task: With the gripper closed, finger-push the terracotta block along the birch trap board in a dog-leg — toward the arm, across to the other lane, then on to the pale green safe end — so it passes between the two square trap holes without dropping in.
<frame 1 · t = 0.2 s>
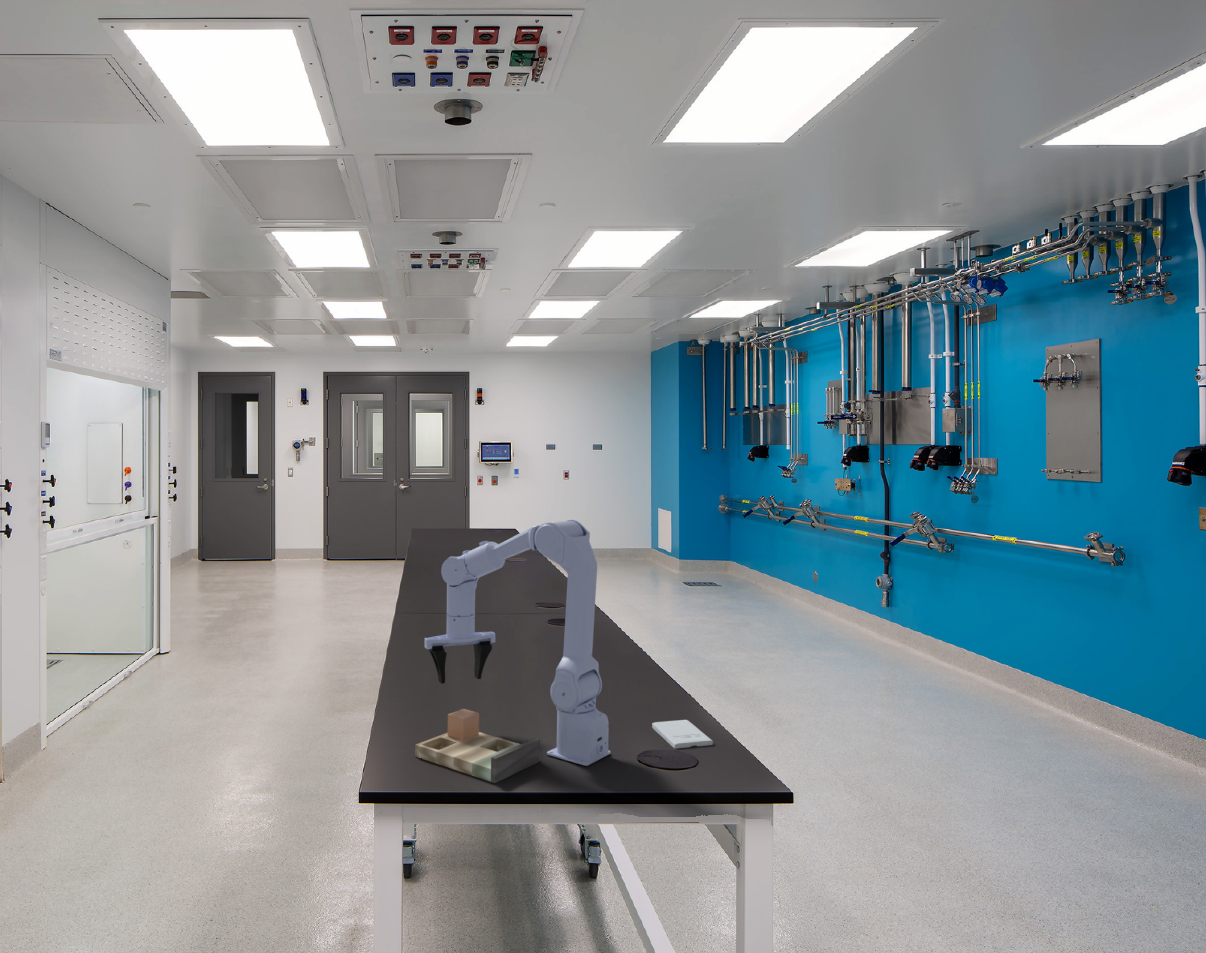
hand: (459, 680, 159), 10 cm above the table, tool pointing down, fingers open, 7 cm apart
trap board: (477, 759, 143), on the table
block: (463, 735, 149), point 2 cm above the table, touching trap board
external hard drive: (681, 739, 157), on the table
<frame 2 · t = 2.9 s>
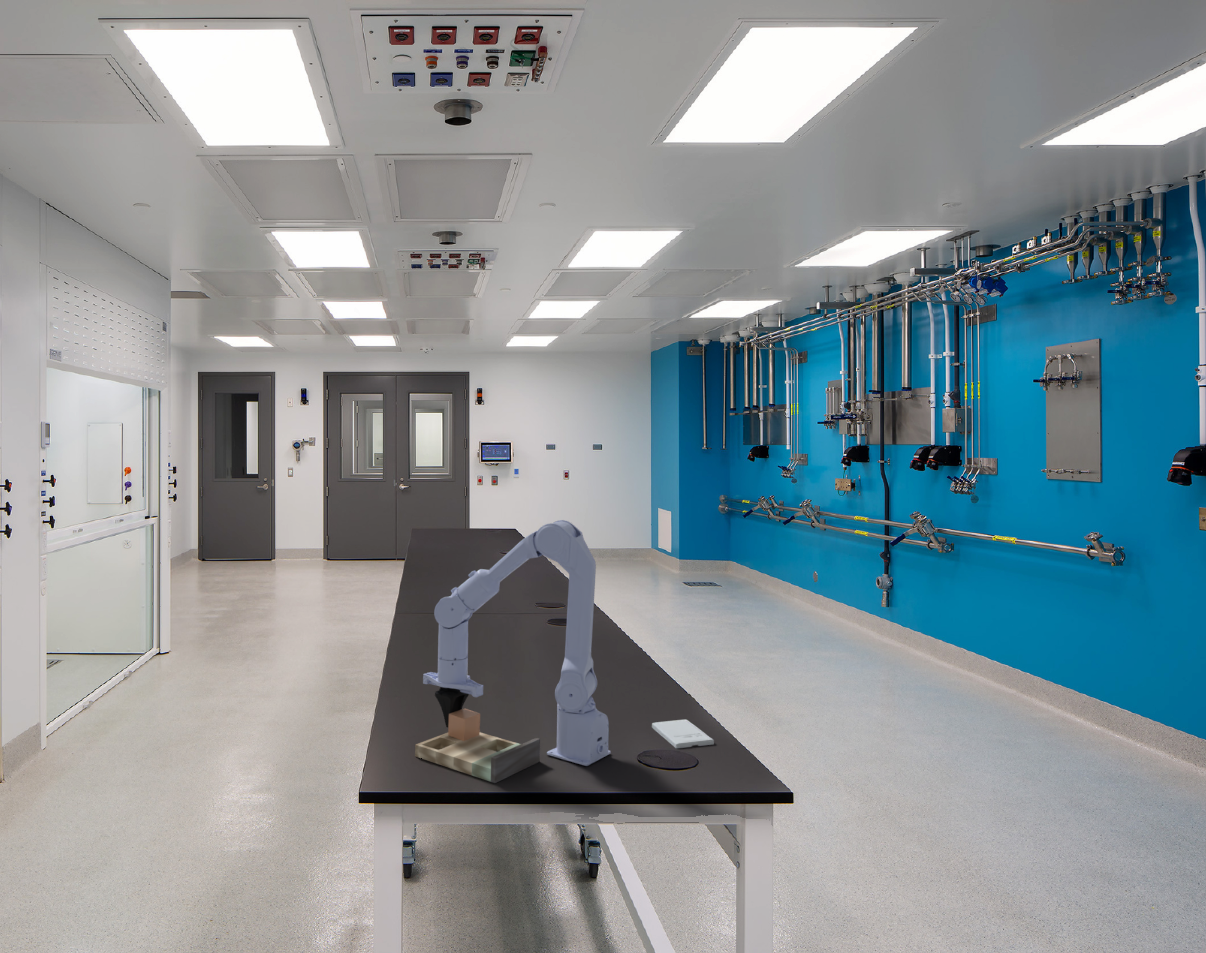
hand: (451, 726, 151), 3 cm above the table, tool pointing down, fingers closed, pressing on block
block: (463, 735, 149), point 2 cm above the table, touching gripper, trap board
everything else where it was.
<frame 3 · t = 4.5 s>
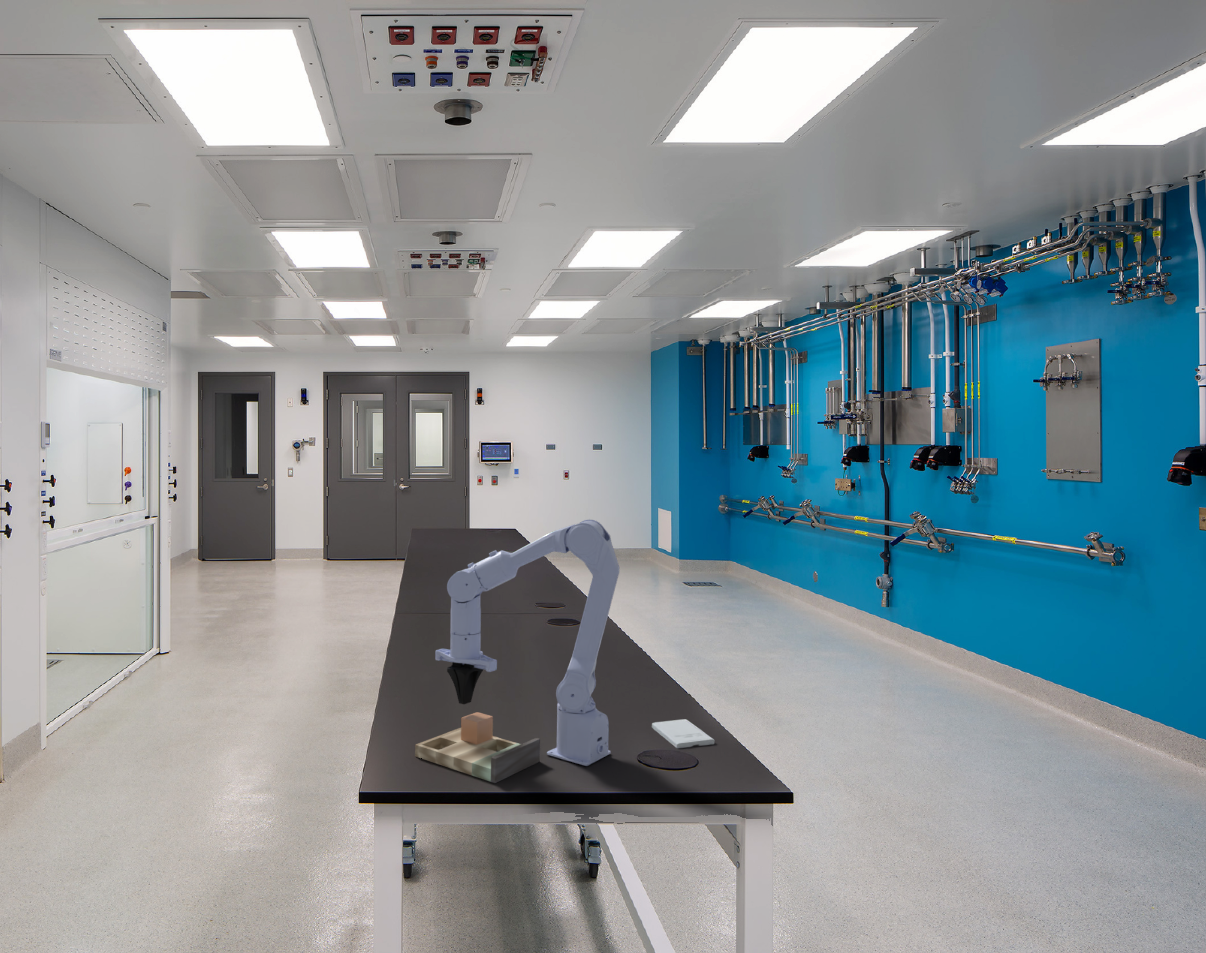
hand: (465, 702, 149), 9 cm above the table, tool pointing down, fingers closed
block: (476, 739, 147), point 2 cm above the table, touching trap board
everything else where it was.
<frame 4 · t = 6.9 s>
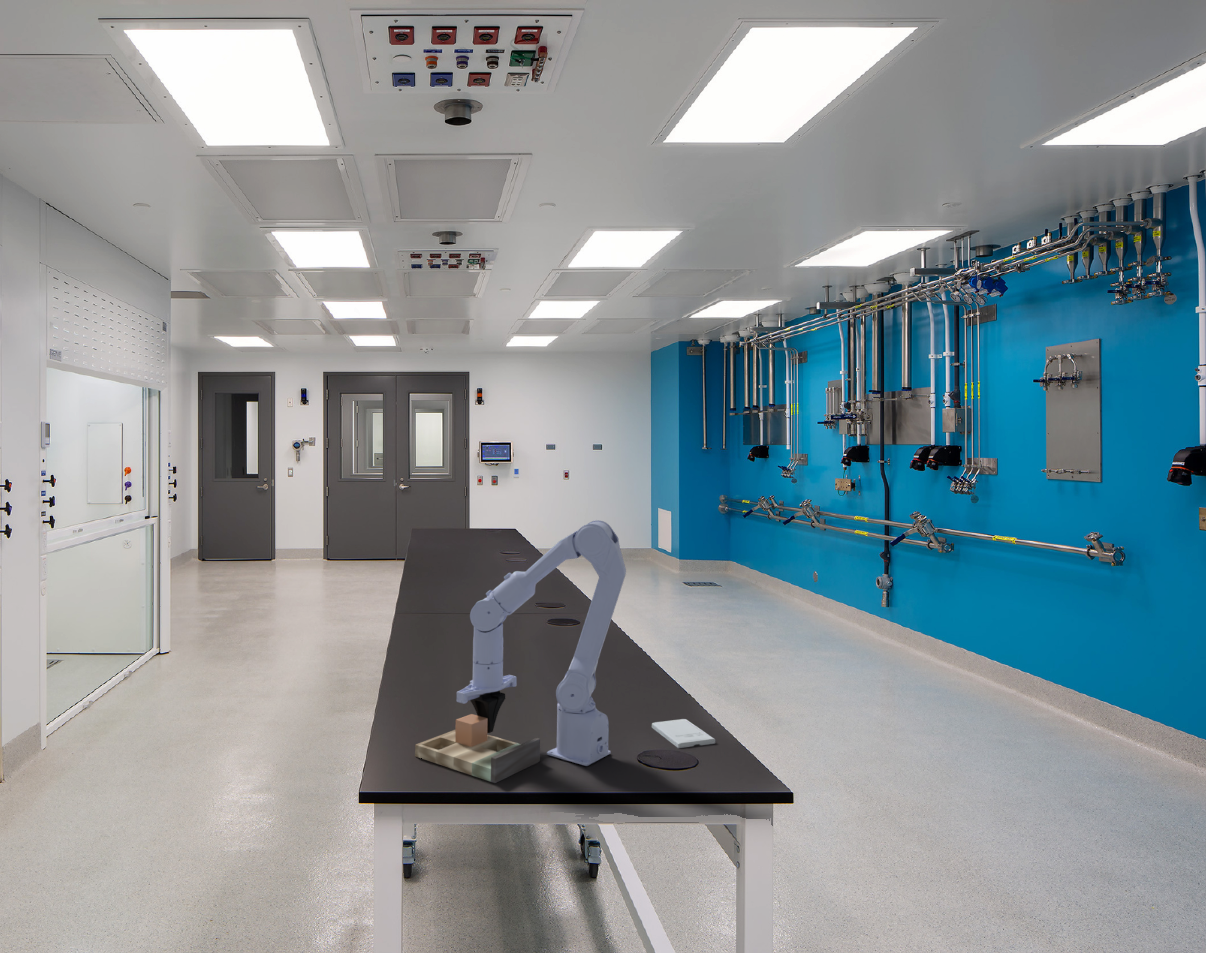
hand: (486, 731, 148), 3 cm above the table, tool pointing down, fingers closed
block: (471, 741, 146), point 2 cm above the table, touching gripper
everything else where it was.
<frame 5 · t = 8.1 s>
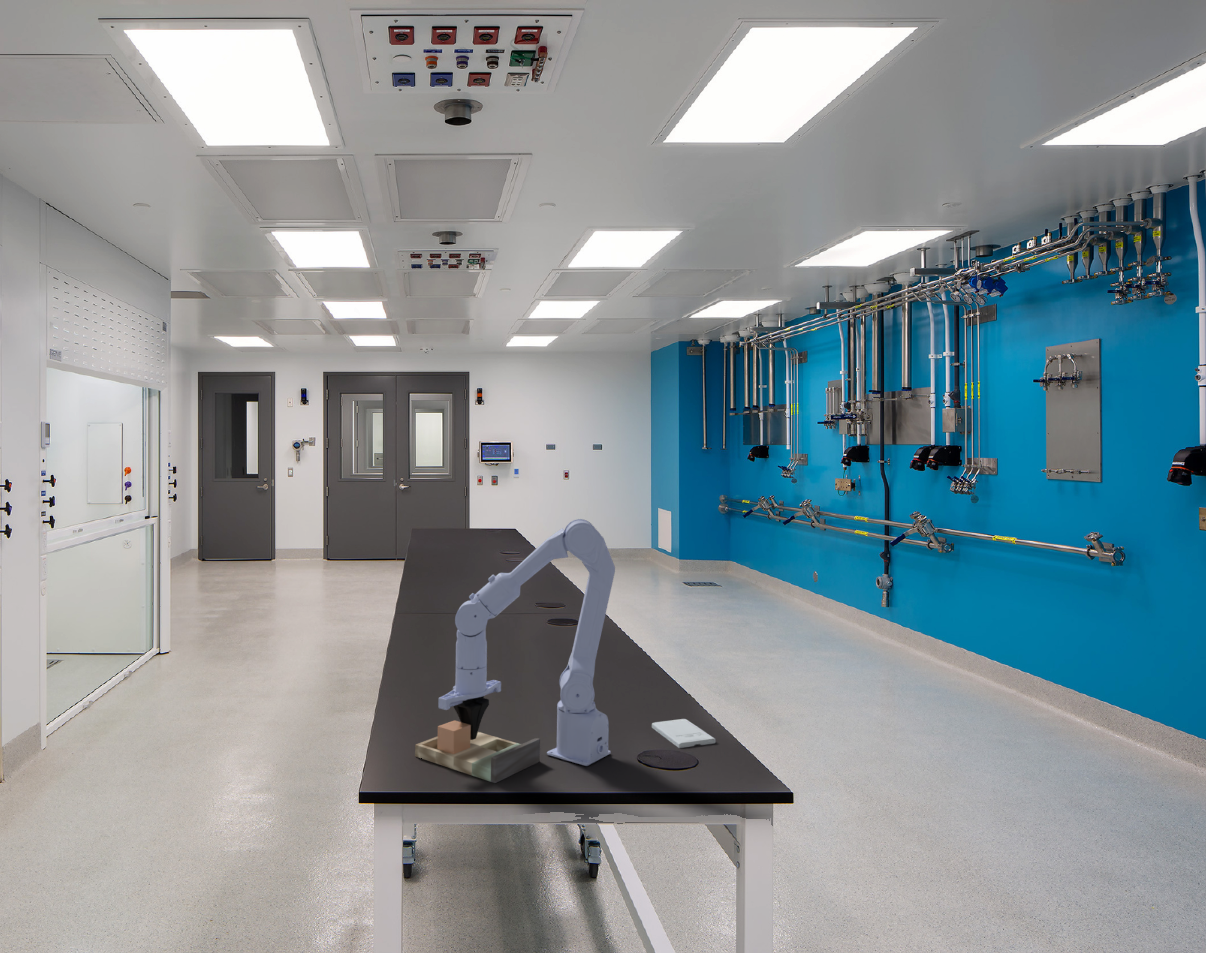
hand: (470, 738, 145), 3 cm above the table, tool pointing down, fingers closed
block: (453, 748, 142), point 2 cm above the table, touching gripper, trap board
everything else where it was.
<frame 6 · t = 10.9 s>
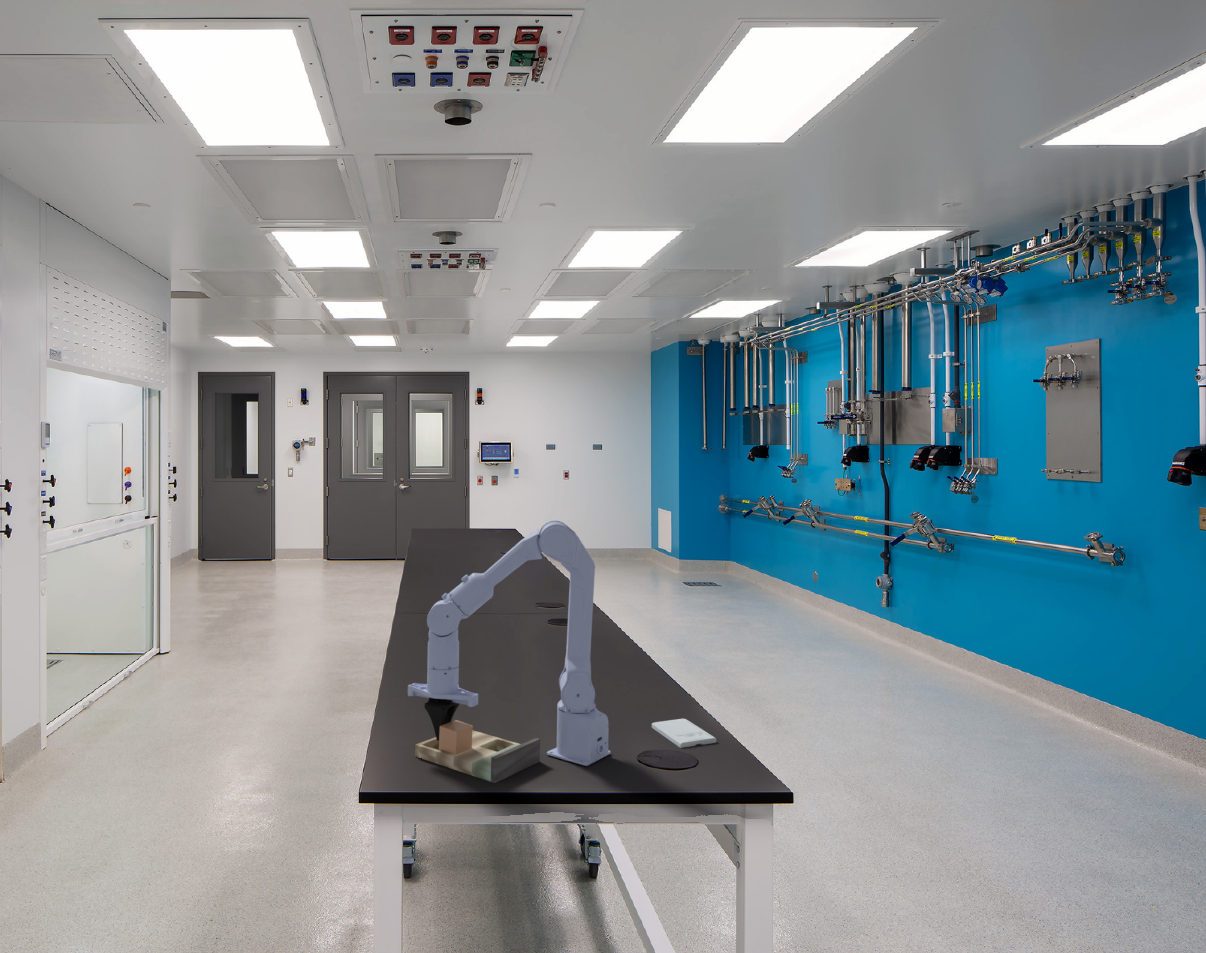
hand: (441, 739, 144), 3 cm above the table, tool pointing down, fingers closed
nothing on the table moved.
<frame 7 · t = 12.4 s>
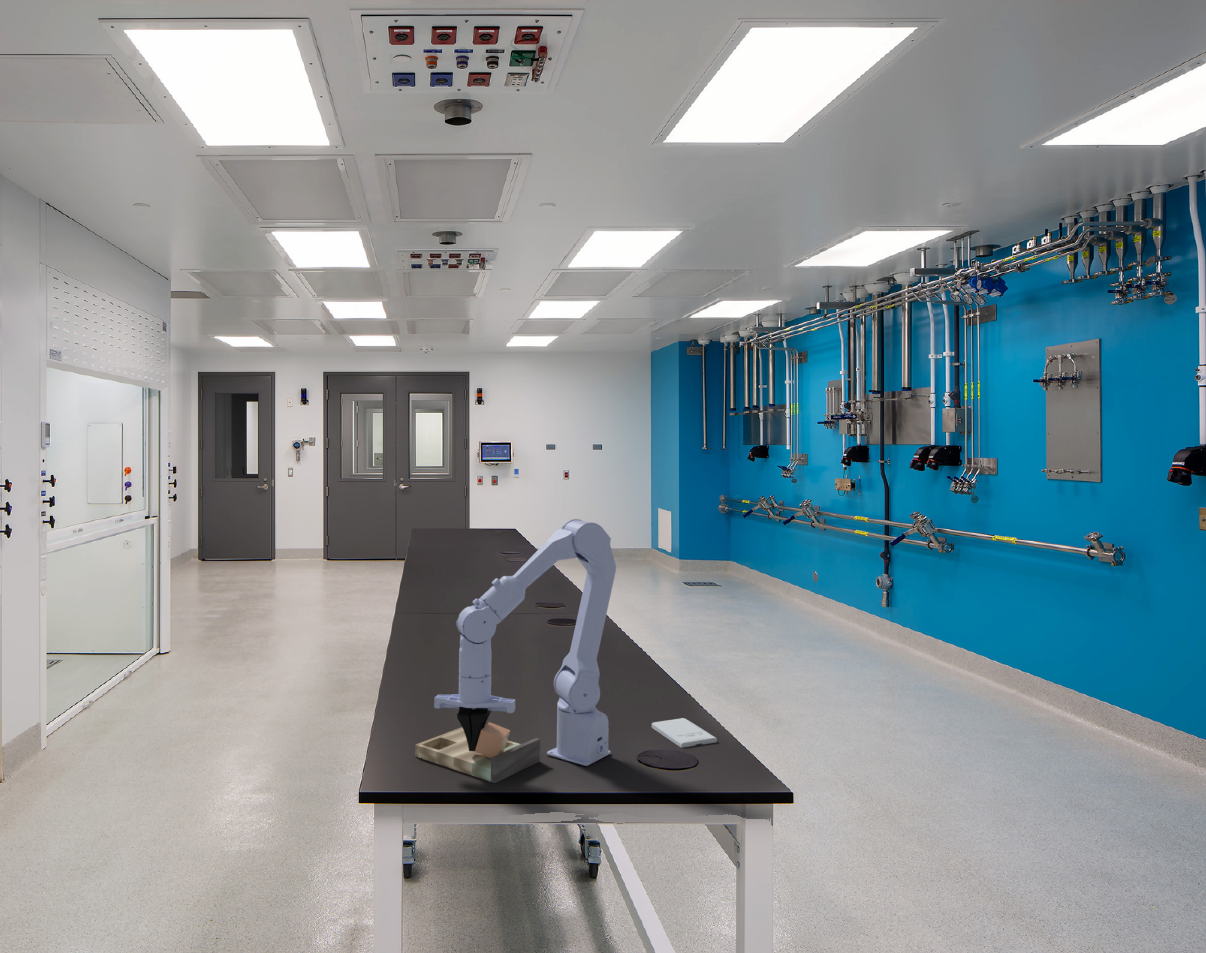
hand: (474, 749, 139), 3 cm above the table, tool pointing down, fingers closed
block: (489, 751, 139), point 3 cm above the table, tilted 16°, touching gripper
everything else where it was.
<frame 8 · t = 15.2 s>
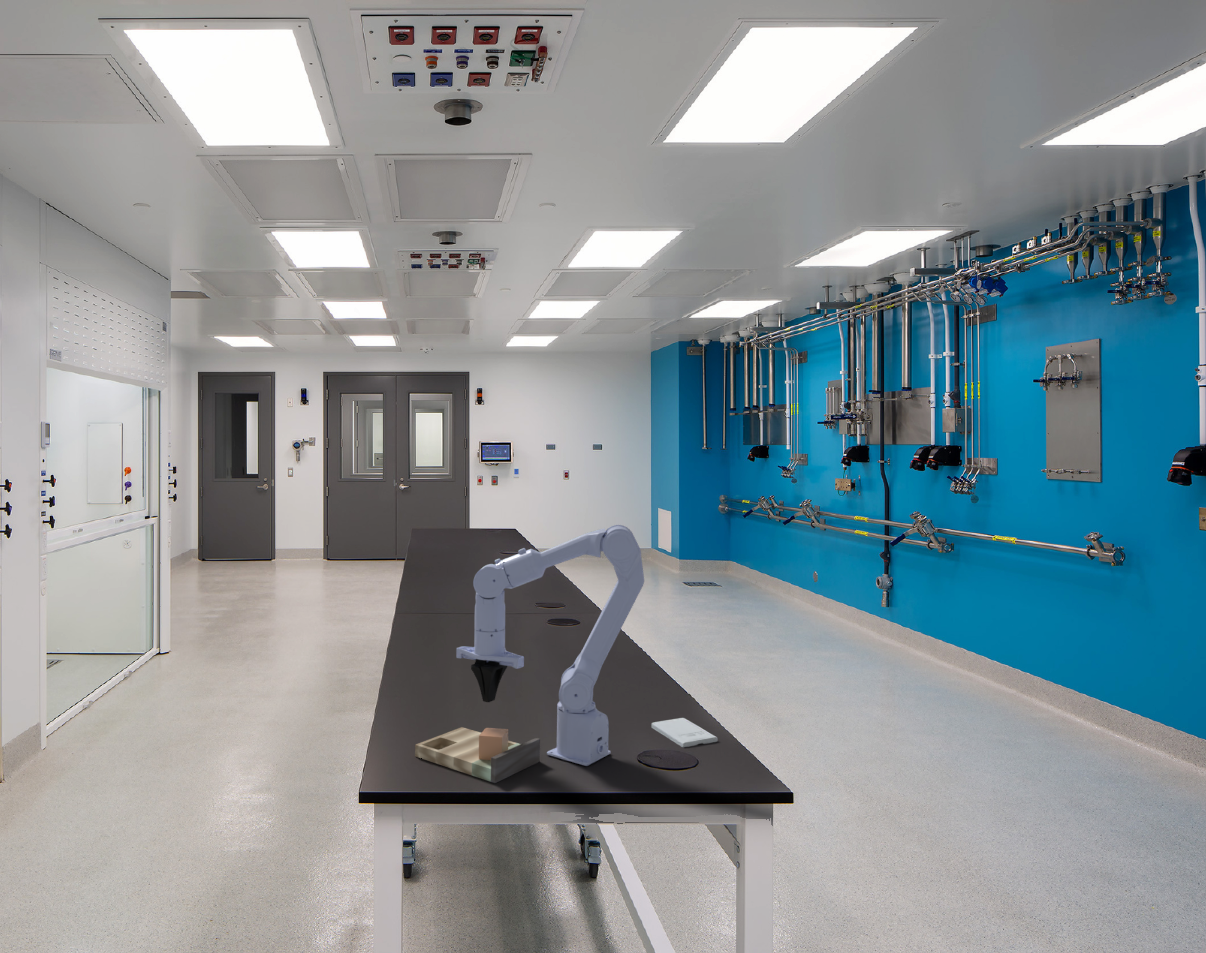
hand: (488, 700, 146), 10 cm above the table, tool pointing down, fingers closed
block: (493, 755, 139), point 2 cm above the table, touching trap board
at the end: block inside the target area on the trap board (1.6 cm from its centre), point 2.2 cm above the trap board's base; block tilted 0° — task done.
